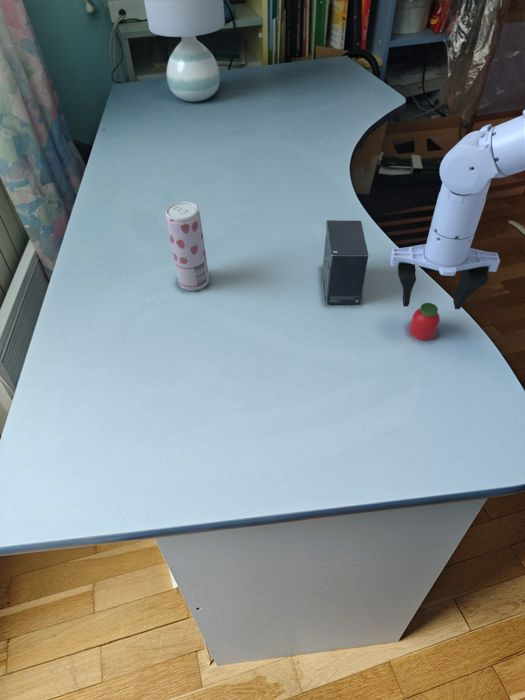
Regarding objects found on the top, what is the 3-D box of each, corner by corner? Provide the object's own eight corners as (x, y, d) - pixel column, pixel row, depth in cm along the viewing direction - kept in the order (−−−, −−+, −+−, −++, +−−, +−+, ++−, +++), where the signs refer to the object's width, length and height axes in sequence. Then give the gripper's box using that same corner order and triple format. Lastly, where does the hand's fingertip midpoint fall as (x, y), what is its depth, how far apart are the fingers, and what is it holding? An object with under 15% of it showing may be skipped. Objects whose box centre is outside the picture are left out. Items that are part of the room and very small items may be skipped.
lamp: (241, 88, 157) (231, -78, 127) (211, 114, 143) (192, -65, 114) (182, 81, 163) (160, -79, 133) (148, 105, 149) (115, -67, 120)
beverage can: (183, 271, 92) (170, 199, 81) (212, 273, 91) (203, 201, 81) (175, 290, 88) (159, 218, 78) (205, 293, 88) (194, 220, 77)
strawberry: (434, 323, 81) (441, 300, 77) (437, 341, 78) (445, 318, 74) (408, 321, 81) (414, 298, 77) (410, 339, 78) (416, 316, 74)
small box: (362, 305, 84) (370, 255, 76) (325, 305, 84) (329, 256, 77) (356, 267, 91) (362, 218, 84) (321, 268, 92) (324, 219, 84)
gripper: (399, 242, 63) (384, 318, 73) (516, 247, 61) (484, 324, 71) (396, 213, 68) (381, 288, 78) (504, 217, 66) (475, 293, 76)
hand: (430, 303), depth 75 cm, fingers open, 7 cm apart
